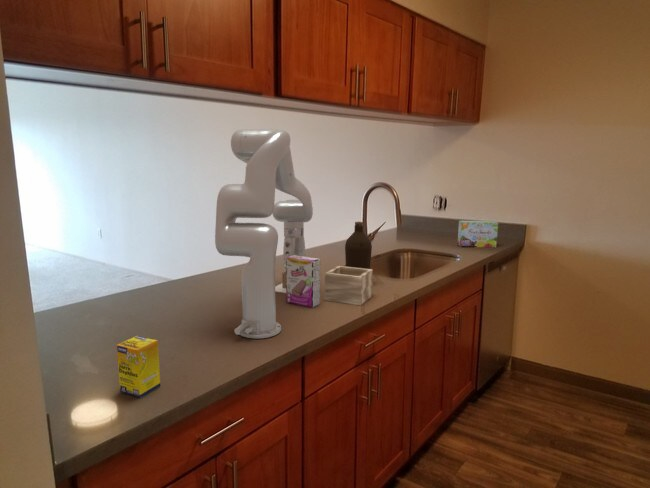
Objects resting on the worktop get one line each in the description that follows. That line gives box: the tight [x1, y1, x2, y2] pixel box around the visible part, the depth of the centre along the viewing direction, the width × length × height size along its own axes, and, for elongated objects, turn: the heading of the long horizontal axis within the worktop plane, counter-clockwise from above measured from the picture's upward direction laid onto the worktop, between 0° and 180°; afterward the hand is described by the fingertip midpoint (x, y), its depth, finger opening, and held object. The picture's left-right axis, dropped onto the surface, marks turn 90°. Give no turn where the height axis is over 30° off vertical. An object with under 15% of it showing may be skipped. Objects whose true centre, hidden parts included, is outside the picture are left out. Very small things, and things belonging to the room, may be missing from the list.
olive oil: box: [344, 221, 373, 269], centre depth 182 cm, size 11×11×25 cm
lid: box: [275, 271, 286, 294], centre depth 176 cm, size 14×15×7 cm
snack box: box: [456, 220, 499, 248], centre depth 263 cm, size 21×6×15 cm, turn 90°
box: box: [324, 265, 374, 306], centre depth 164 cm, size 12×13×10 cm
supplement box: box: [116, 335, 161, 399], centre depth 98 cm, size 6×6×11 cm
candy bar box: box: [285, 255, 321, 309], centre depth 156 cm, size 11×5×16 cm, turn 59°
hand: (294, 278), depth 176 cm, fingers open, 5 cm apart
